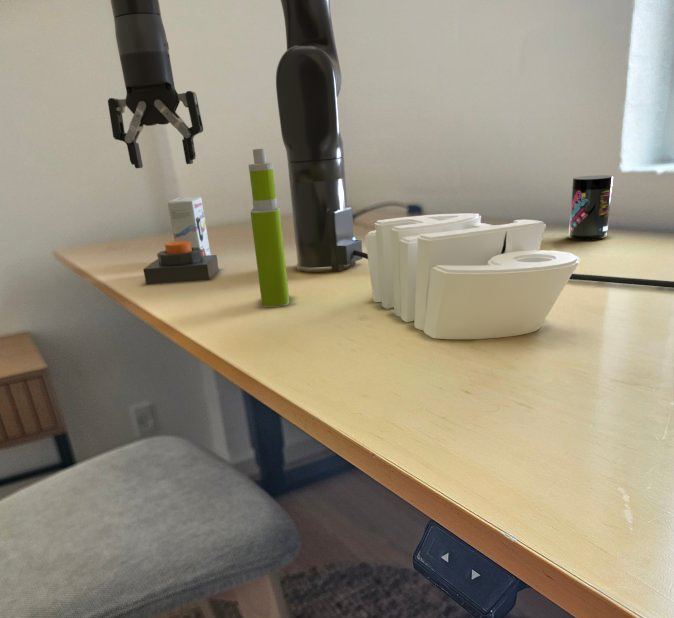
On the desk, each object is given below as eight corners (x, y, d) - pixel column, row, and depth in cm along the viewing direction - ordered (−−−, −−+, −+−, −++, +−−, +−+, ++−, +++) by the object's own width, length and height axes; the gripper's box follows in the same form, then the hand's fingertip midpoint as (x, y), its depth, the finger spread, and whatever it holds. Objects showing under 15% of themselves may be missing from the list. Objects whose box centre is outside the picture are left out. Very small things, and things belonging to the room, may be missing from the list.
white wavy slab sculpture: (356, 288, 98) (352, 214, 93) (460, 275, 101) (461, 202, 96) (445, 357, 67) (445, 251, 62) (591, 335, 70) (601, 232, 65)
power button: (194, 250, 116) (192, 240, 115) (189, 254, 112) (187, 244, 111) (170, 252, 116) (168, 241, 115) (163, 256, 112) (161, 246, 112)
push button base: (218, 269, 120) (215, 244, 118) (209, 280, 112) (205, 253, 110) (159, 274, 120) (154, 249, 118) (146, 284, 112) (140, 258, 110)
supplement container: (573, 234, 125) (578, 175, 121) (611, 235, 122) (617, 174, 117) (563, 240, 120) (568, 179, 116) (601, 241, 117) (608, 178, 112)
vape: (289, 296, 97) (273, 147, 88) (288, 305, 91) (271, 148, 83) (264, 298, 97) (246, 149, 88) (261, 308, 91) (241, 151, 83)
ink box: (203, 265, 125) (192, 200, 120) (178, 267, 125) (166, 202, 120) (211, 257, 132) (202, 195, 127) (188, 259, 133) (177, 197, 127)
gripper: (90, 54, 98) (115, 171, 105) (183, 45, 98) (202, 163, 105) (107, 58, 105) (129, 168, 112) (194, 50, 104) (211, 161, 111)
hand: (164, 165), depth 108 cm, fingers open, 8 cm apart
